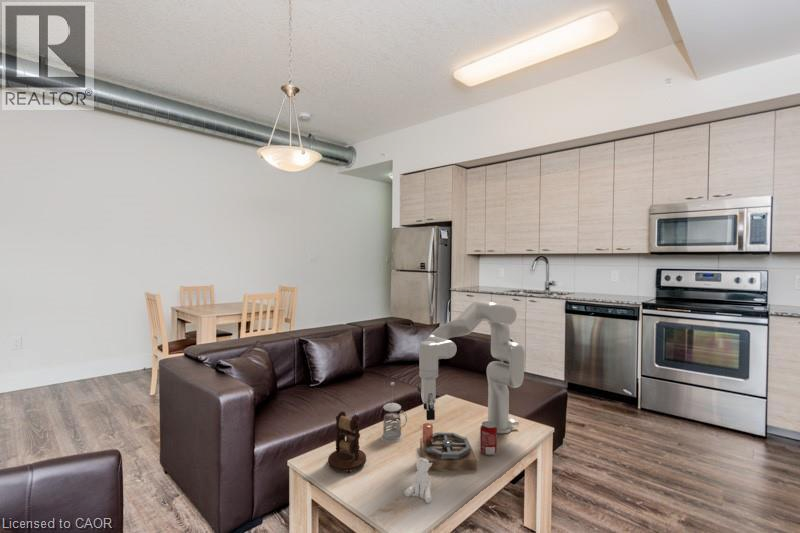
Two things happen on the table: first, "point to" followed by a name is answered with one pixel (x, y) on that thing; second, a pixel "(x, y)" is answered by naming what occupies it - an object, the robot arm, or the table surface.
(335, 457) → the scroll
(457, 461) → the block
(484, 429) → the soda can
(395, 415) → the french press
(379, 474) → the table surface
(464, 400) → the table surface
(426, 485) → the sitting furry creature
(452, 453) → the handwheel
